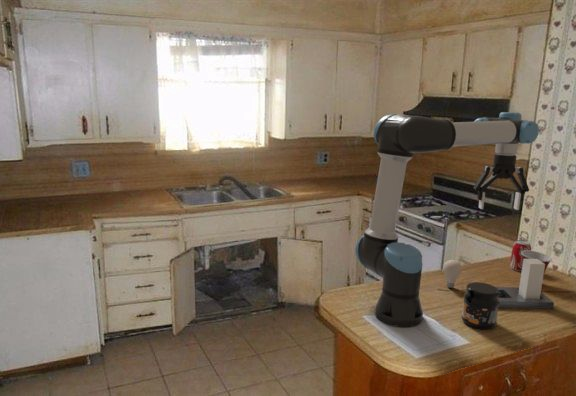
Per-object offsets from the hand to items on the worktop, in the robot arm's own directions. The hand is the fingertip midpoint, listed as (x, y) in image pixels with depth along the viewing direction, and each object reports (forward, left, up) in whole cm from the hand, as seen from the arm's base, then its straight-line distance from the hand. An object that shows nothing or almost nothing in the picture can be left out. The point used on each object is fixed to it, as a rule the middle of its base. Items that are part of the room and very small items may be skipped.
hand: (498, 208), depth 177 cm
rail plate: (0, -20, -29) cm, 35 cm away
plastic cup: (+15, -4, -29) cm, 33 cm away
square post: (+5, -20, -29) cm, 35 cm away
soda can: (+17, +11, -29) cm, 35 cm away
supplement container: (-19, -37, -29) cm, 51 cm away
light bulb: (-19, -10, -29) cm, 36 cm away
